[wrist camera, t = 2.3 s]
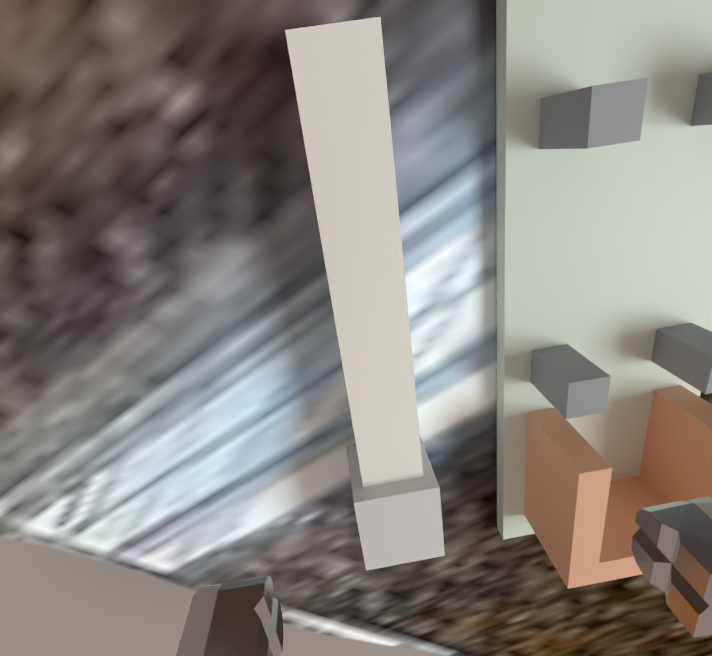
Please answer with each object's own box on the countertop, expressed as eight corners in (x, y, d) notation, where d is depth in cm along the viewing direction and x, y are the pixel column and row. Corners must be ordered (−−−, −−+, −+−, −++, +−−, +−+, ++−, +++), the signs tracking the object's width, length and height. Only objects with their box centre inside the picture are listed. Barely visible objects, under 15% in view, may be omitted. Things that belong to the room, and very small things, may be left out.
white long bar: (275, 55, 17) (264, 24, 13) (381, 40, 17) (403, 5, 13) (357, 507, 27) (366, 570, 23) (424, 495, 27) (444, 555, 23)
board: (496, -6, 17) (586, -82, 11) (776, -44, 17) (995, -136, 12) (496, 527, 29) (541, 615, 23) (663, 495, 29) (745, 575, 24)
